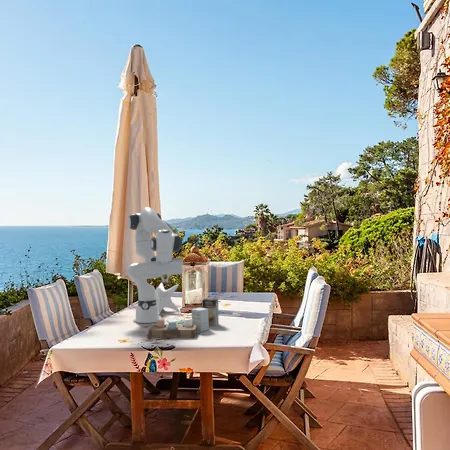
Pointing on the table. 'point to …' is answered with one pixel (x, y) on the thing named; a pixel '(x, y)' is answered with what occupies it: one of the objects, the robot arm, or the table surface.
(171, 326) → the key slate
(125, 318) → the table surface
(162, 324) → the tan rounded short cylinder
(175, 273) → the robot arm
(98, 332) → the table surface
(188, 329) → the tray
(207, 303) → the coffee box
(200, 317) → the supplement box
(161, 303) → the starfish
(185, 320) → the cream egg-shaped piece
